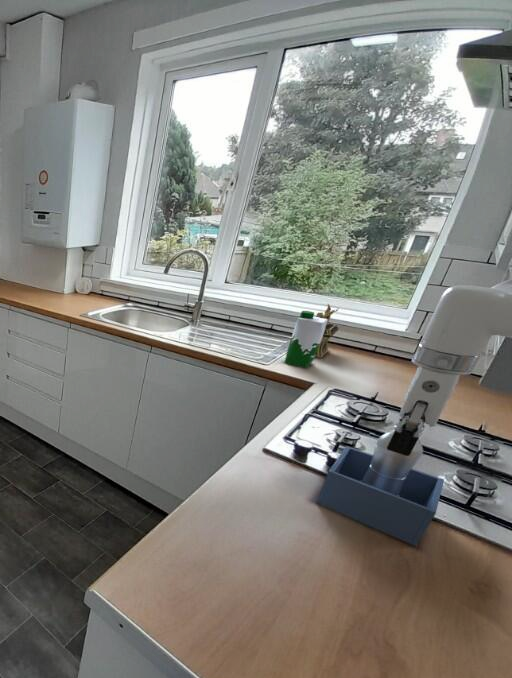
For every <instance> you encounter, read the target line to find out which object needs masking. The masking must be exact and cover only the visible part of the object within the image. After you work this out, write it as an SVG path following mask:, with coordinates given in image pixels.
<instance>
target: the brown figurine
mask: <svg viewBox="0 0 512 678" xmlns="http://www.w3.org/2000/svg"><path fill="white" fill-rule="evenodd" d="M339 309H340V307H338V308H337V309H336V310H335V309H332V308H331V305H330V304H329V303H327V307H326V309H325V310H324V313H323V312H320V311H319V312H317V313H316V316H315V317H319V318H323V319H328V320H327V324H326V327H325V331H324V334H323V337H322V340H321V342H320V345H319V348H318V351H317V353H316V355H315V357H314V358H323V356H324V355H326V354H327V352H328V351H329V348H328V343H329V341H330V339H331V338H332V337H333V336H334V335H335V334H336V333H337V332H338V331H339V329H340V327H338V325H336V324H335V323H330V319H331V317H332V315H333V314H334V313H336V312H338V311H339Z"/></svg>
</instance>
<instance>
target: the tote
mask: <svg viewBox="0 0 512 678" xmlns="http://www.w3.org/2000/svg"><path fill="white" fill-rule="evenodd" d="M373 455H374V454H371V453H369V452H366V451H362V450H361V449H357V448H354V447H351V446H348V445H346V446H345V447H344V449H343V450H342V452H341V453H340V455H339V456H338V457H337V459H336V460H335V462H333V464H332V466H331V467H330V468H329V471H328V473H327V474H326V476H325V479H324V482H323V484H322V486H321V489H320V491H319V493H318V496H317V498H316V500H315V503H316V504H318V505H321V506H323V507H325V508H328V509H330V510H332V511H334V512H336V513H339V514H340V515H343V516H345V517H348V518H350V519H353V520H354V521H357V522H359V523H361V524H364V525H366V526H368V527H371V528H373V529H375V530H377V531H380V532H382V533H384V534H386V535H389V536H391V537H393V538H395V539H398V540H400V541H402V542H405V543H407V544H409V545H411V546H414V547H417V546H418V544H419V542H420V541H421V539H422V538H423V536H424V534H425V533H426V531H427V529H428V527H429V526H430V524H431V522H432V520H433V519H434V517H435V516H436V514H437V511H438V506H439V501H440V498H441V495H442V490H443V486H444V483H445V478H441V477H439V476H435V475H433V474H430V473H427V472H424V471H421V470H418V469H415V468H412V469H411V470H410V472H409V473H408V475H407V476H406V478H405V480H404V482H403V484H402V487H401V490H400V493H399V496H396V495H394V494H391V493H389V492H386V491H383V490H381V489H378V488H376V487H373V486H370V485H368V484H365V483H363V482H360V481H362V479H363V477H364V476H365V474H366V472H367V471H368V469H369V466H370V464H371V461H372V458H373Z"/></svg>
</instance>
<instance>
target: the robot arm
mask: <svg viewBox="0 0 512 678" xmlns="http://www.w3.org/2000/svg"><path fill="white" fill-rule="evenodd" d="M492 336H499V337H505V338H509V339H512V278H509V279H506V280H504V281H501V282H499V283H497V284H496V285H494V286H492V287H487V286H480V285H479V286H477V285H464V284H463V285H453V286H450V287H448V288H447V289H446V290H444V291H443V293H442V294H441V297H440V298H439V301H438V303H437V305H436V308H435V309H434V312H433V313H432V316H431V318H430V320H429V322H428V324H427V326H426V329H425V331H424V333H423V335H422V338H421V340H420V342H419V344H418V346H417V348H416V350H415V352H414V354H413V357H412V359H411V363H412V364H413V365H416V366H418V367H417V369H416V371H415V374H414V376H413V378H412V380H411V382H410V385H409V387H408V389H407V392H406V394H405V397H404V400H403V403H402V406H401V408H400V412H399V417H400V418H403V420H402V422H401V424H400V426H399V428H398V430H395V429H394V430H395V432H394V434H393V436H392V438H391V440H390V442H389V444H388V446H387V449H388V450H390V451H393V452H396V453H399V454H402V455H405V456H409V455H410V454H411V452H412V450H413V448H414V446H415V444H416V442H417V440H418V438H419V439H420V436H418V434H419V432H420V430H421V428H422V426H423V425H428V426H429V427H432V428H433V427H435V426H437V423H438V421H439V419H440V418H441V415H442V414H443V412H444V410H445V408H446V406H447V404H448V402H449V401H450V398H451V397H452V395H453V392H454V390H455V389H456V386H457V384H458V382H459V380H460V377H461V376H467V375H471V374H472V372H473V370H474V369H475V367H476V365H477V363H478V362H479V360H480V358H481V355H482V354H483V352H484V350H485V348H486V346H487V345H488V343H489V341H490V339H491V337H492ZM406 421H407V422H408V423H405V422H406ZM417 424H418V426H417ZM402 428H403V429H402ZM417 436H418V437H417Z"/></svg>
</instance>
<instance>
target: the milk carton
mask: <svg viewBox="0 0 512 678" xmlns="http://www.w3.org/2000/svg"><path fill="white" fill-rule="evenodd" d="M314 315H315V312H313V311H309V310H302V311H301V312H300V314H299V316H298V318H297V320H296V321H295V322H296V323H295V326H294V328H293V331H292V335H291V338H290V341H289V344H288V347H287V350H286V355H285V360H284V363H285V364H289V365H292V366H297V367H300V368H304V369H306V368H308V367H309V366H310V365H311V364H312V362H313V360H314V359H315V358H316V357H315V355H316V353H317V351H318V348H319V345H320V342H321V340H322V337H323V334H324V331H325V327H326V324H327V320H328V319H323V318H319V317H316V316H314Z"/></svg>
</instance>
